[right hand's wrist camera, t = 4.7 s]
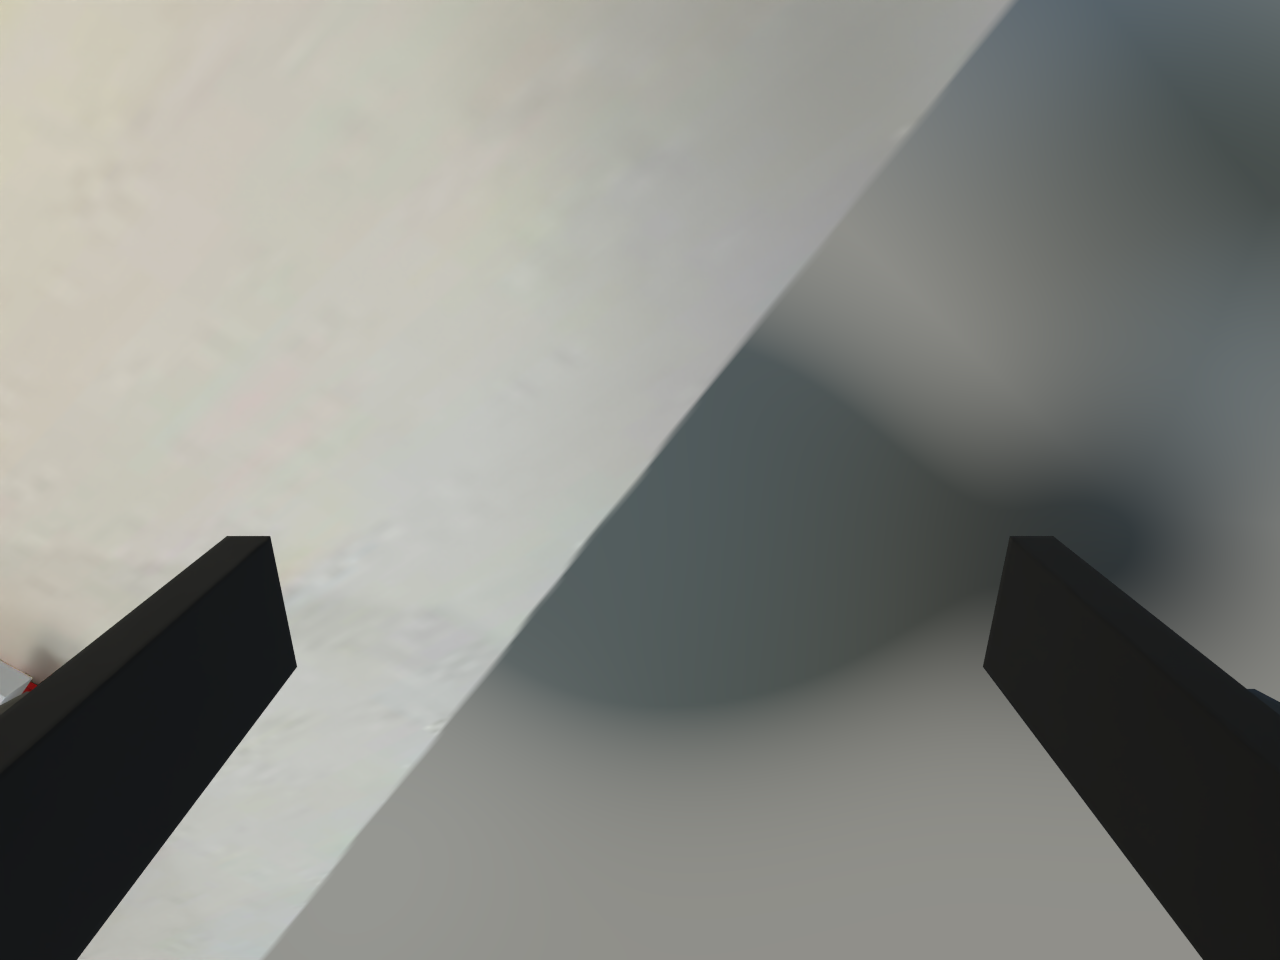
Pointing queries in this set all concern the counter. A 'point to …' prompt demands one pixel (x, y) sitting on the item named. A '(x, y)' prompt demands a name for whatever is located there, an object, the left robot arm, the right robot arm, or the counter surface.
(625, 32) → the counter surface
